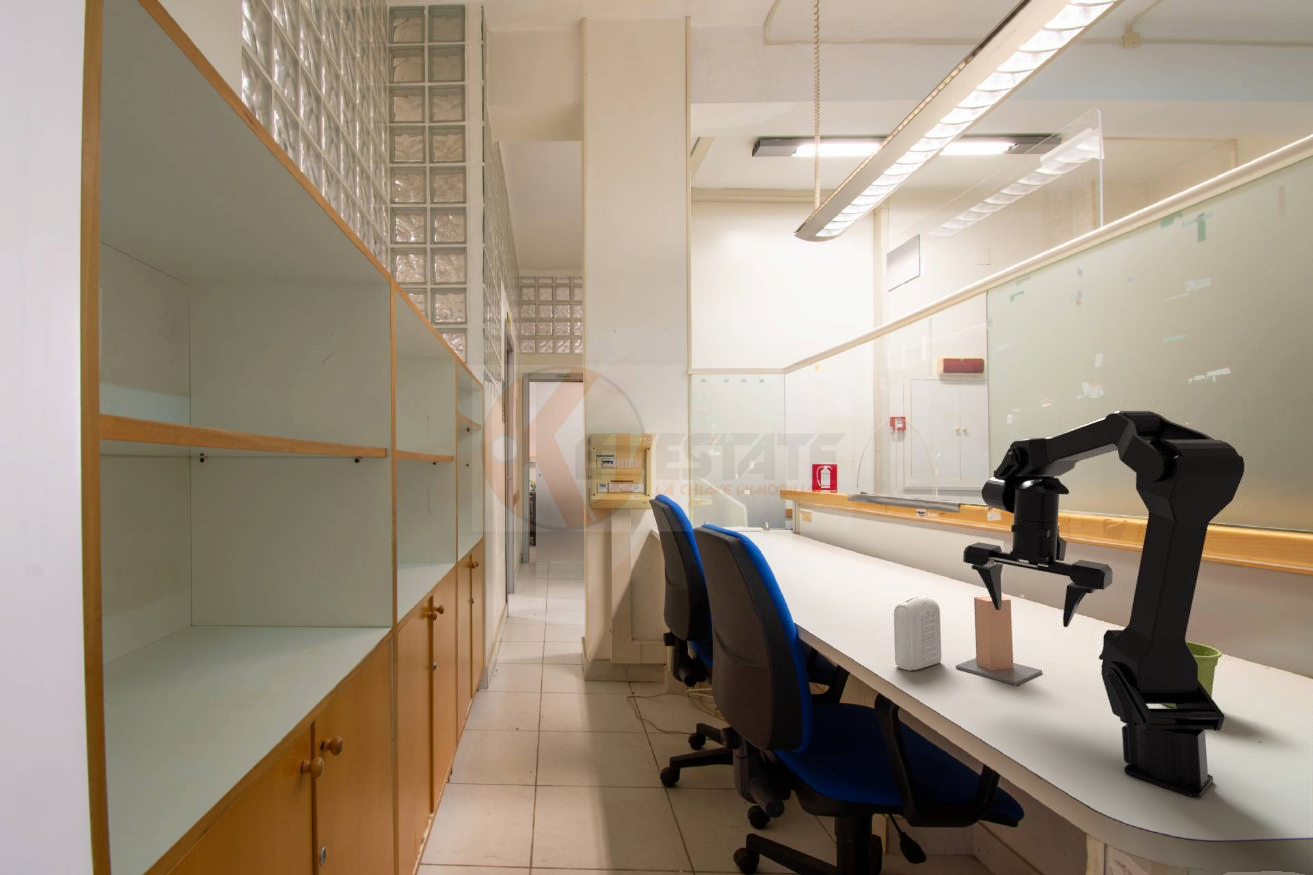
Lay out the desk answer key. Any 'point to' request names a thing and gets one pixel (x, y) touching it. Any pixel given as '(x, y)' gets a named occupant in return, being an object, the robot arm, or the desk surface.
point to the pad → (1001, 672)
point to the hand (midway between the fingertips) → (1030, 617)
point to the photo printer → (917, 633)
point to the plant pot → (1204, 665)
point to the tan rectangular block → (993, 634)
